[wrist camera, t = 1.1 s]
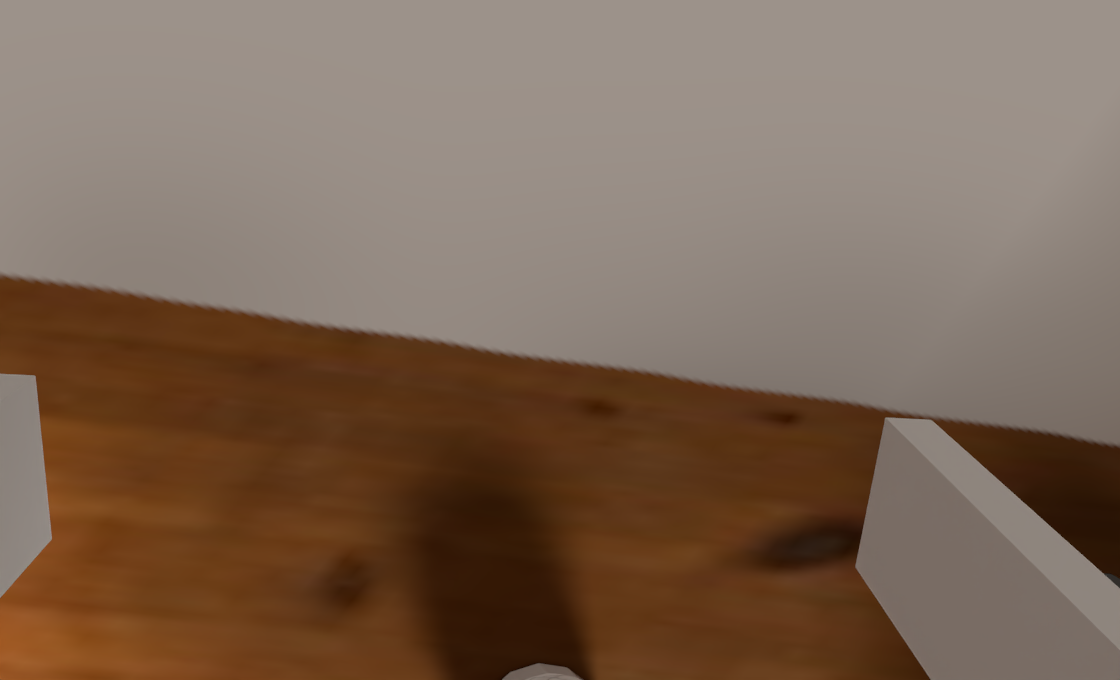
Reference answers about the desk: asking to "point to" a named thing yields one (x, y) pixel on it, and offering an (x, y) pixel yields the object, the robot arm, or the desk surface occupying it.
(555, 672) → the white cup
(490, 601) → the desk surface
